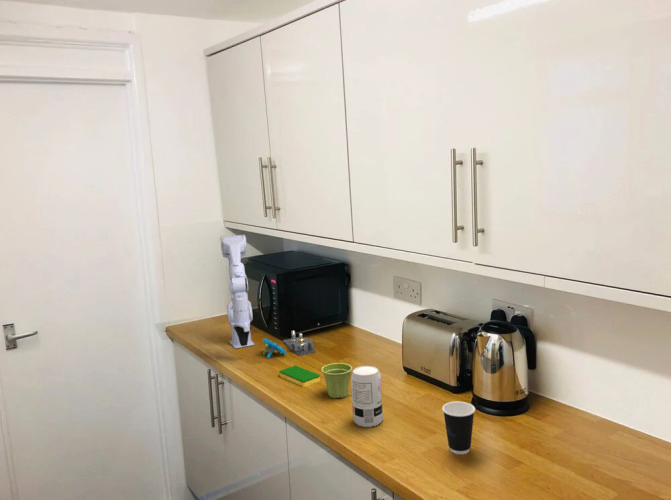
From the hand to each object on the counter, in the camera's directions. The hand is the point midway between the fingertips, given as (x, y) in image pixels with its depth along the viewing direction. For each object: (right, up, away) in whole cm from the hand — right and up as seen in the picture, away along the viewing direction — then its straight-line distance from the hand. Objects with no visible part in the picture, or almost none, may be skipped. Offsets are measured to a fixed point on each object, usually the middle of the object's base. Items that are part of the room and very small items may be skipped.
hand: (243, 345), depth 217 cm
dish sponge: (+22, -9, -18) cm, 30 cm away
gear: (+11, -5, +5) cm, 13 cm away
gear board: (+20, -3, +13) cm, 24 cm away
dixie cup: (+65, -15, -70) cm, 96 cm away
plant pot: (+35, -10, -33) cm, 49 cm away
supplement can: (+43, -13, -52) cm, 69 cm away
